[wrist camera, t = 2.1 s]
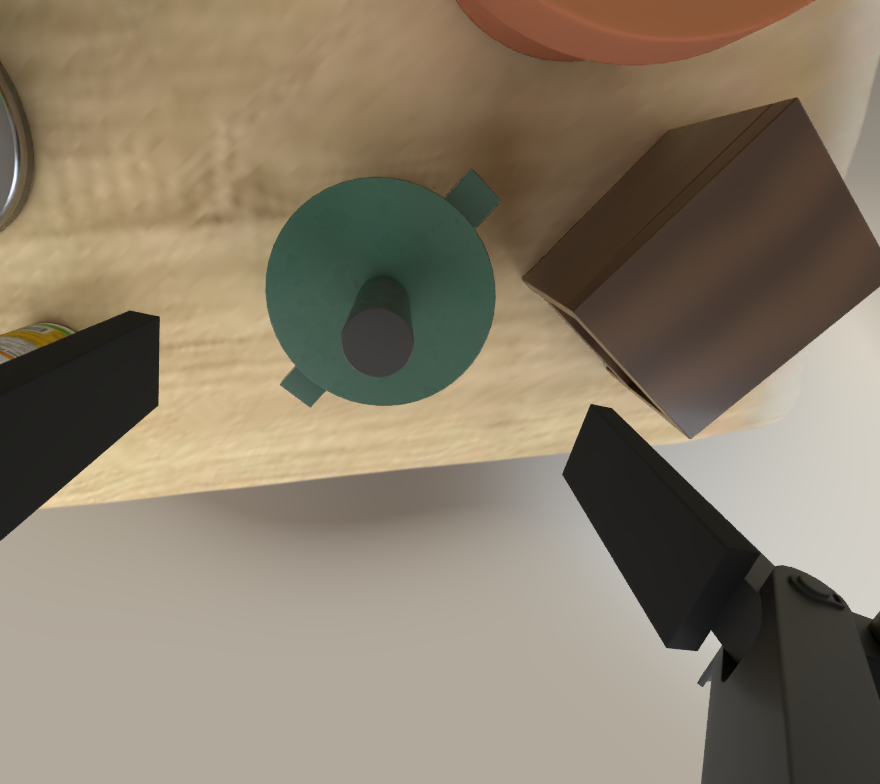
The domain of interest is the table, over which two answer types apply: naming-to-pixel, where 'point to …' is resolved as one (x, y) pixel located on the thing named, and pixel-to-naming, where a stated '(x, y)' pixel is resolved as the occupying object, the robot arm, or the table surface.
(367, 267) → the lid
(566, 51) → the potted cactus
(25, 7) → the table surface
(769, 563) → the robot arm
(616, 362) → the wooden side table
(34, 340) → the supplement bottle
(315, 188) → the table surface
